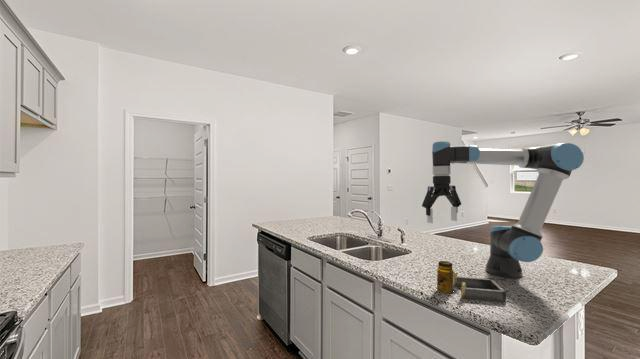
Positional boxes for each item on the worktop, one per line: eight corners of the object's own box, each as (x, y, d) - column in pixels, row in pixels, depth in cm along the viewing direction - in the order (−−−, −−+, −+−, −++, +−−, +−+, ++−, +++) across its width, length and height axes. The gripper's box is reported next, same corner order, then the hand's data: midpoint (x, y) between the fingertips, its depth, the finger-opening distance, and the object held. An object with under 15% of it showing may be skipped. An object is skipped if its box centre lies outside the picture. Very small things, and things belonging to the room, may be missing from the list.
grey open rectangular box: (491, 288, 121) (492, 274, 121) (506, 302, 107) (506, 287, 107) (452, 285, 124) (452, 271, 124) (461, 298, 111) (461, 283, 110)
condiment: (433, 291, 117) (433, 262, 117) (440, 285, 124) (440, 258, 124) (452, 296, 113) (452, 266, 112) (458, 290, 119) (458, 261, 119)
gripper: (456, 175, 138) (457, 218, 139) (413, 176, 130) (414, 222, 131) (469, 174, 131) (470, 220, 132) (424, 176, 123) (425, 225, 124)
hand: (442, 221), depth 131 cm, fingers open, 13 cm apart
